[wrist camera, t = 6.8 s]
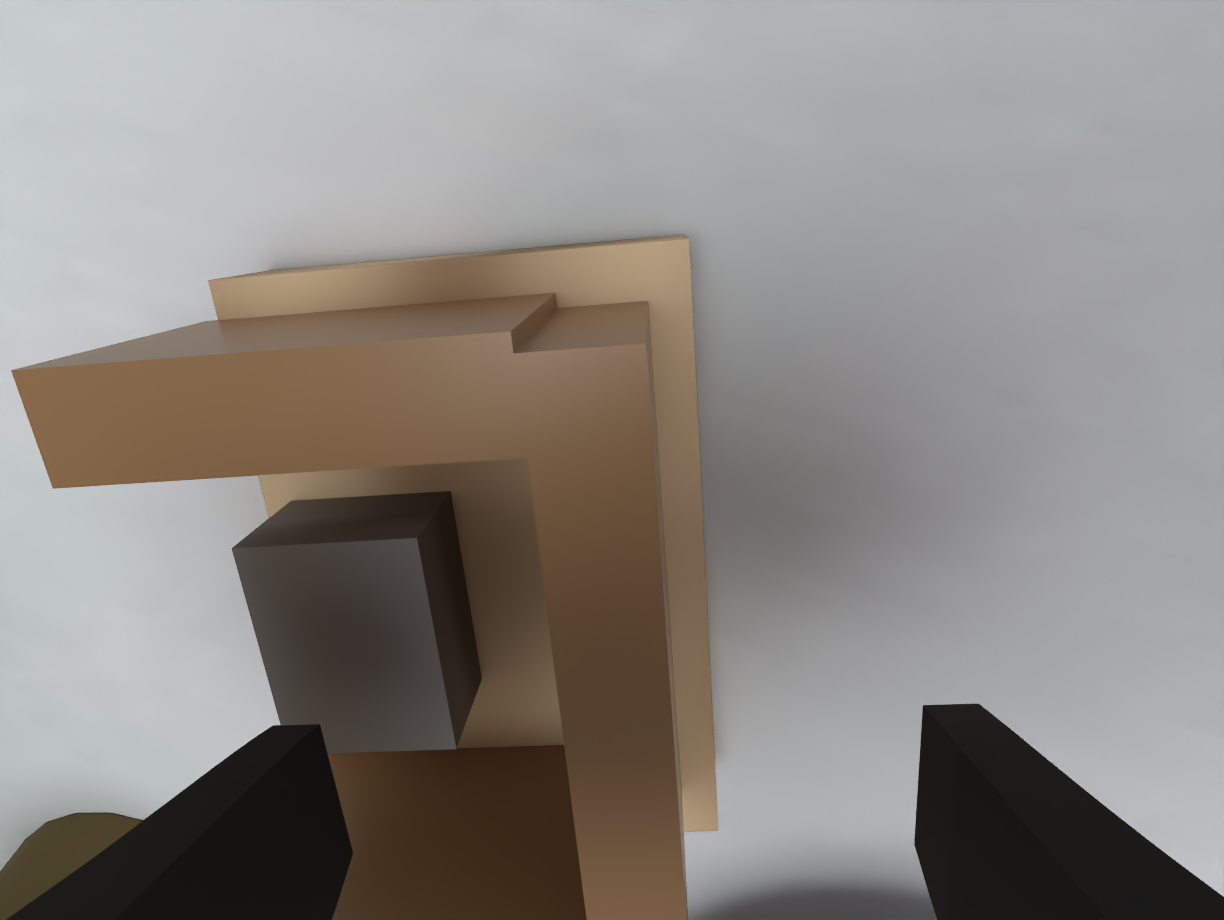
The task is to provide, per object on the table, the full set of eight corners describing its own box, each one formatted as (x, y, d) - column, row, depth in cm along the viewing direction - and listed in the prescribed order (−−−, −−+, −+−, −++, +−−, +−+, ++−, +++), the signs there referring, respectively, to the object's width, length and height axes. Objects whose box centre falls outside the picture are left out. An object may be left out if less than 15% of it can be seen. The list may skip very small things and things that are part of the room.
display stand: (684, 234, 13) (696, 244, 10) (711, 762, 17) (727, 917, 14) (267, 270, 14) (126, 293, 10) (383, 773, 18) (311, 923, 14)
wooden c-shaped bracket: (334, 809, 16) (233, 999, 12) (206, 321, 12) (10, 370, 9) (682, 800, 15) (691, 995, 11) (647, 285, 12) (644, 321, 8)
